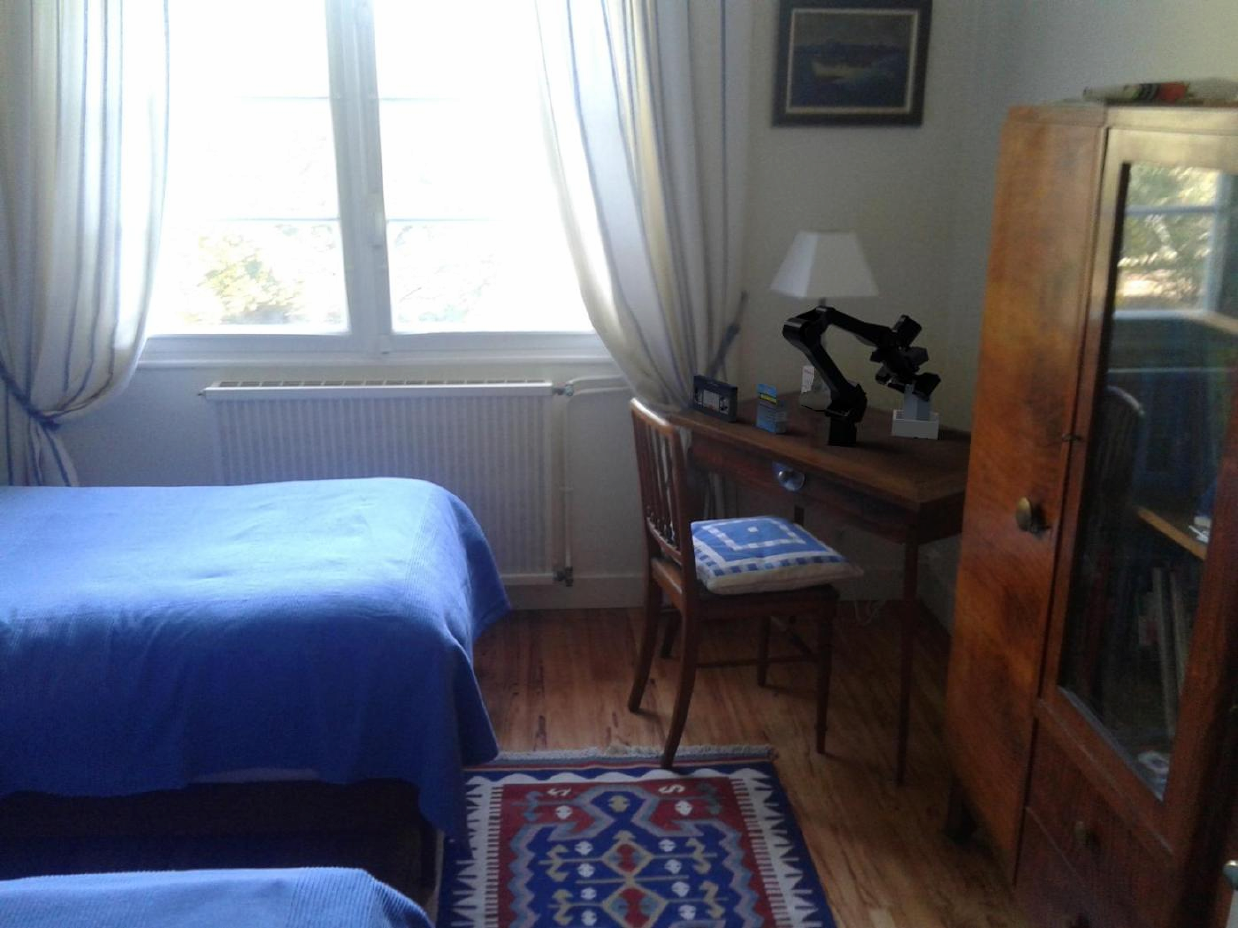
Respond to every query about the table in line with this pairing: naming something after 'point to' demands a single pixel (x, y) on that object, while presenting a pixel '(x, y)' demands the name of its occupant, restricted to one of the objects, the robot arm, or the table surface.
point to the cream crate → (915, 426)
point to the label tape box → (771, 410)
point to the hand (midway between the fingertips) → (921, 399)
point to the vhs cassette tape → (715, 398)
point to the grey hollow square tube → (915, 406)
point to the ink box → (811, 380)
